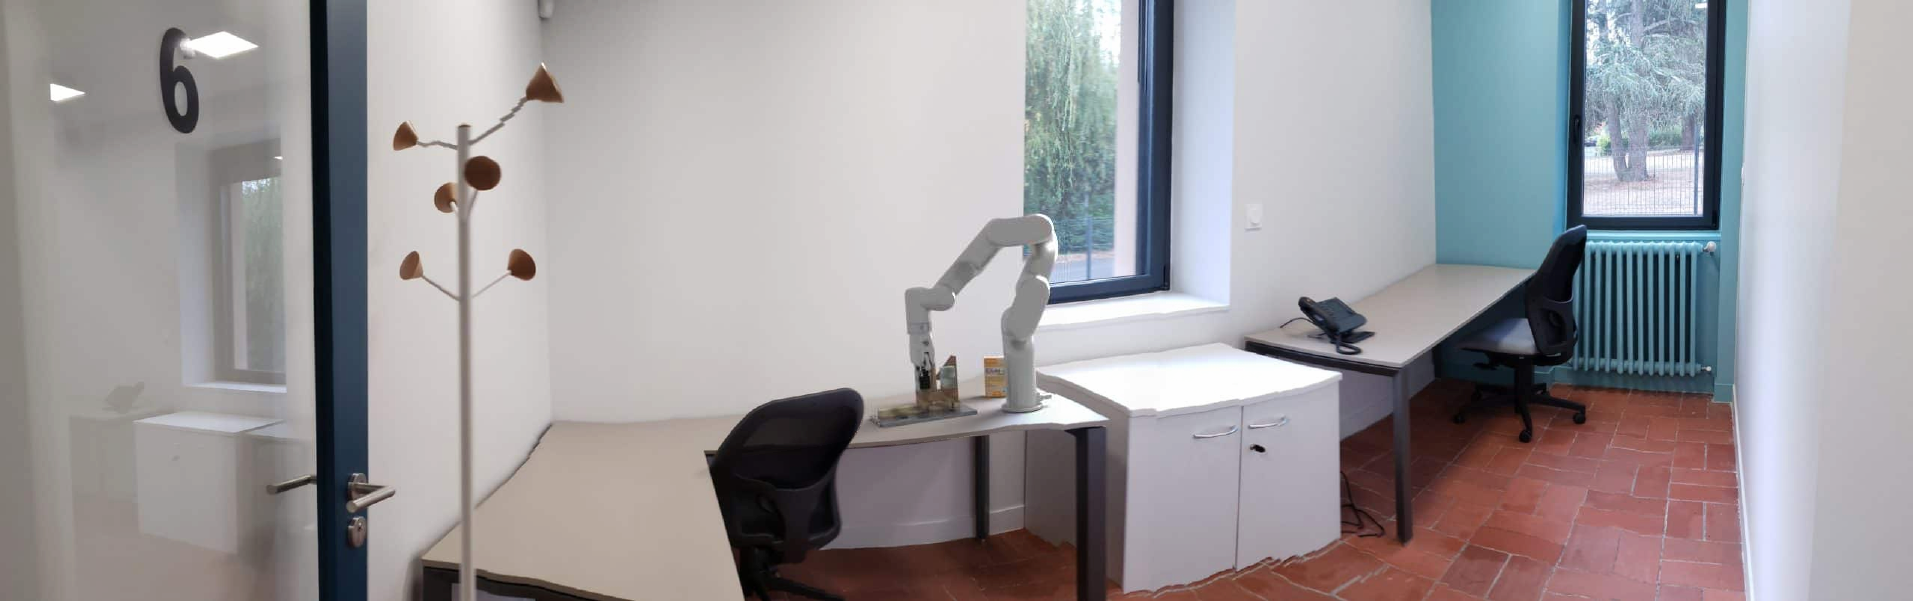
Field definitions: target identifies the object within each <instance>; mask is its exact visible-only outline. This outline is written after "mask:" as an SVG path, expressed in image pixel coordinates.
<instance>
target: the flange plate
mask: <svg viewBox="0 0 1913 601" xmlns="http://www.w3.org/2000/svg"><path fill="white" fill-rule="evenodd" d="M970 414H971V415H977V414H978V409H975V408H974V407H971V406H968V405H967V404H964V403H963V402H960V406H959V407H954V409H952V408H945V409H938V410H931V411H929V412H927V411H924V412H918V413H911V414H904V415H897V416H890V417H884V418H880V417H878V414H872V415H868V418H869V417H870V418H871V419H872V420H874V421H876V422H877V423H879V424H880V425H881V426H891V427H898V426H903V425H904V424H905V425H910V424H917V423H918V424H919V423H923V422H929V421H930V422H931V421H937V420H943V419H949V418H950V419H951V418H957V417H964V416H970ZM872 420H871V421H872ZM877 423H876V424H877ZM880 425H879V426H880ZM881 426H880V427H881Z"/></svg>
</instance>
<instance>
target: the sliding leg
mask: <svg viewBox="0 0 1913 601" xmlns="http://www.w3.org/2000/svg"><path fill="white" fill-rule="evenodd" d="M919 377H920V370H915V369H914V383H915V384H914V385H915V389H914V390H915V400H916V402H915V403H916V404H918V405H920V406H922V407H926V410H927V412H929V406H933V401H932V391H931V388H930V389H924V390H921V389H920V380H919ZM930 386H931V378H930ZM916 404H915V405H916Z"/></svg>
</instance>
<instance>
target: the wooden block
mask: <svg viewBox="0 0 1913 601" xmlns="http://www.w3.org/2000/svg"><path fill="white" fill-rule="evenodd" d="M933 348H934V349H935V347H934V346H933ZM935 355H936V354H935V350H934V357H935ZM935 358H936V357H935ZM924 366H925V364H924ZM945 366H954V367H955V376H956V386H955V387H957V398H958V399H960V398H959V384H958V381H959V380H958V366H957V356H955V355H952V354H951V355H950V356H949V357H948V359H947V360H946V361H945V362H944V364H943V365H942V367H945ZM936 370H937V369H936V363H935V364H934V365H931V370H930V378H931V391H932V401H933V402H937V401H942V400H941V390H940V388H938V387H937V386H938V385H937V381H940V370H939V371H938V372H937V371H936Z"/></svg>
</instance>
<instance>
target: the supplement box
mask: <svg viewBox="0 0 1913 601" xmlns="http://www.w3.org/2000/svg"><path fill="white" fill-rule="evenodd" d="M983 370H984V371H983V372H984V374H983V375H984V392H985V398H1006V391H1005V374H1004V355H984V357H983Z"/></svg>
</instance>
